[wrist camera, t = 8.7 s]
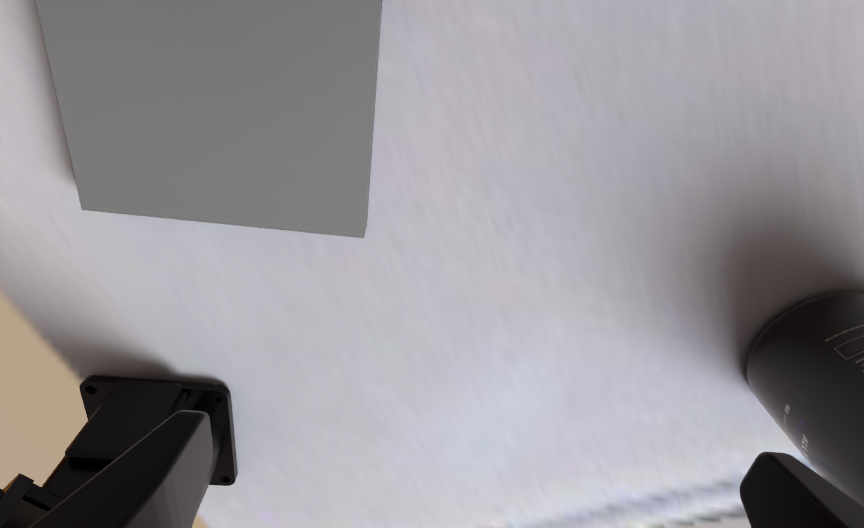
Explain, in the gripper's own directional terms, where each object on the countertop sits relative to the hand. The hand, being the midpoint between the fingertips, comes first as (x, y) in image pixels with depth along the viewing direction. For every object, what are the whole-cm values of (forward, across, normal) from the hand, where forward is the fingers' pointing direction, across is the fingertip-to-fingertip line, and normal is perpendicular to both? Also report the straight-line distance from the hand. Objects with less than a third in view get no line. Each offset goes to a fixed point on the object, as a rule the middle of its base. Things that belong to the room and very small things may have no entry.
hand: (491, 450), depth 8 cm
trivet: (+12, +8, -4) cm, 15 cm away
